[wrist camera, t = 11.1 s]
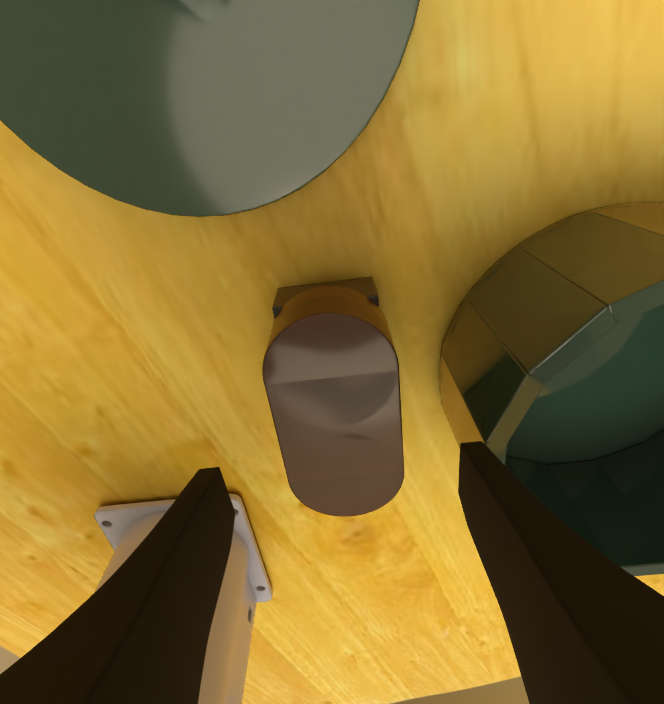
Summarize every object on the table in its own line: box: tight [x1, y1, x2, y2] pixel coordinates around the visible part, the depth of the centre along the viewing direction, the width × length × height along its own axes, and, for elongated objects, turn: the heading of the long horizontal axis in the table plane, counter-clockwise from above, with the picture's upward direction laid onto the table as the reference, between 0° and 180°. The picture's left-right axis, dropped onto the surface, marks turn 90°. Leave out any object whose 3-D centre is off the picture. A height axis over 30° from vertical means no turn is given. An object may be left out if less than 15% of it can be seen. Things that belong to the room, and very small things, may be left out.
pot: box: [439, 202, 664, 576], centre depth 15 cm, size 13×13×6 cm
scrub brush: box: [263, 277, 404, 516], centre depth 16 cm, size 9×4×4 cm, turn 7°
